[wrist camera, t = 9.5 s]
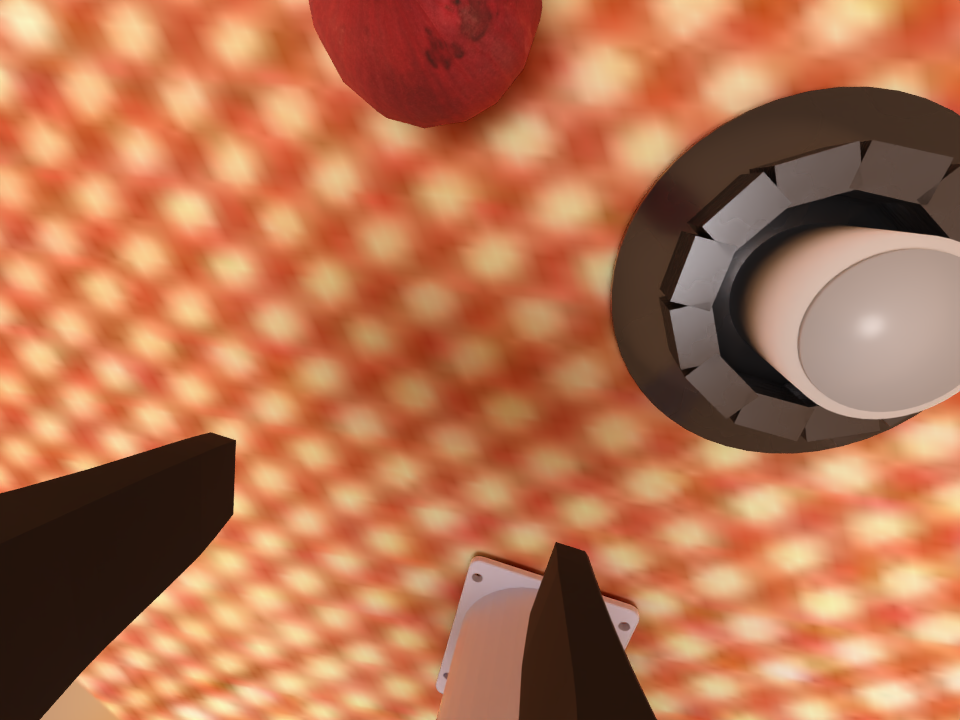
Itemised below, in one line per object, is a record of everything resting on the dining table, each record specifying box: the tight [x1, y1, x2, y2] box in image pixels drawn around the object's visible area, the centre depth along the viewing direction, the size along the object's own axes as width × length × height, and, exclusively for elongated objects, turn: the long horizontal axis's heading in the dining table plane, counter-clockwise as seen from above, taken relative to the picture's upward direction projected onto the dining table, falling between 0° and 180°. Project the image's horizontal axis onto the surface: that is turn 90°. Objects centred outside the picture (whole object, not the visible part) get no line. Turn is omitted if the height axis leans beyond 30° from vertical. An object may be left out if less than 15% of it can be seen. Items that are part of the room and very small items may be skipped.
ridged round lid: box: [611, 87, 960, 453], centre depth 15 cm, size 12×12×3 cm
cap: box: [729, 223, 960, 419], centre depth 13 cm, size 5×5×5 cm
